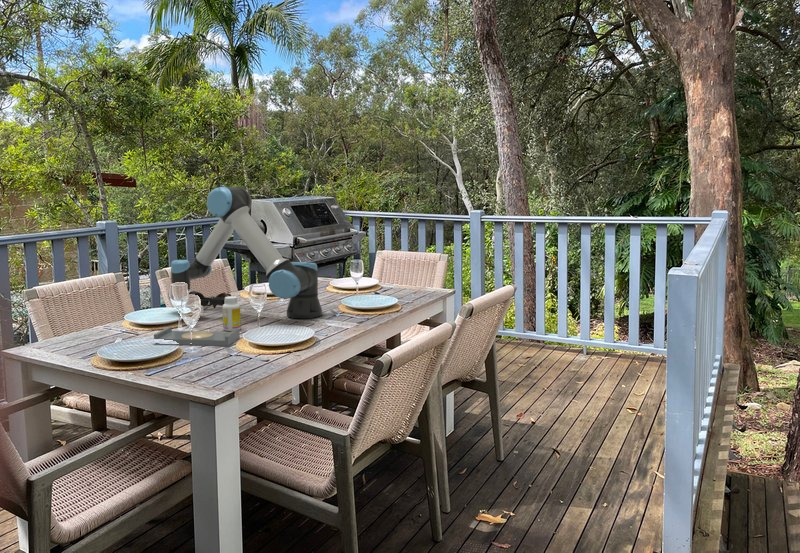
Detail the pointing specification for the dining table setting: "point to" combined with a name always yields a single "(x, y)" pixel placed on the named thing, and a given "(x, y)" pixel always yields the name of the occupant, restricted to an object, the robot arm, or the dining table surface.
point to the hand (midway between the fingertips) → (218, 307)
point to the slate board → (199, 337)
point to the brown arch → (222, 297)
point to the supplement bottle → (231, 314)
